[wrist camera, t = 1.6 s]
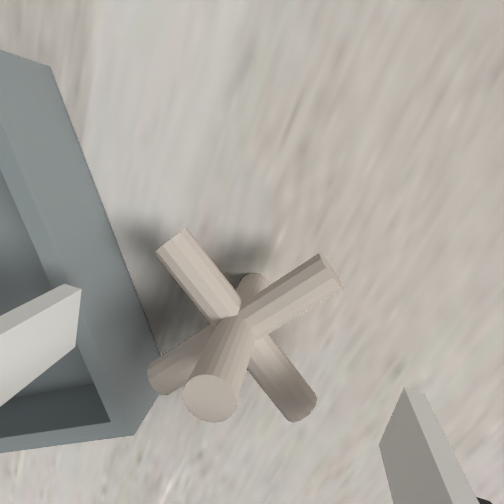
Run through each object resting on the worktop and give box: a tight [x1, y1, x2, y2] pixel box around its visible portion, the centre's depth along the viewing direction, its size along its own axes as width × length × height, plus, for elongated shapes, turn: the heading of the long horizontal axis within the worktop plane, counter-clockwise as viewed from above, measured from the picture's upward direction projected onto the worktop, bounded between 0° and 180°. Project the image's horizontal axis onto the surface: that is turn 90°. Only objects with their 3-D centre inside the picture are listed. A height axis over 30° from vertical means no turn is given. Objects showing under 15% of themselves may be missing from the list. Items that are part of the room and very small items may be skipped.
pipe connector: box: [147, 228, 344, 423], centre depth 16 cm, size 10×10×10 cm
